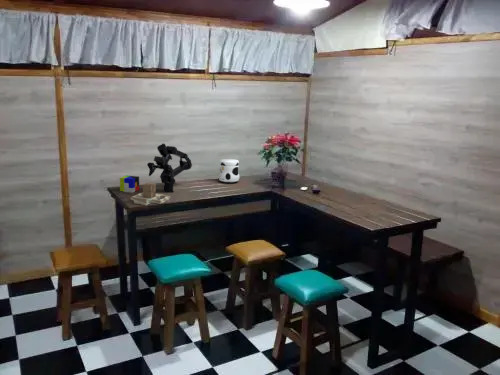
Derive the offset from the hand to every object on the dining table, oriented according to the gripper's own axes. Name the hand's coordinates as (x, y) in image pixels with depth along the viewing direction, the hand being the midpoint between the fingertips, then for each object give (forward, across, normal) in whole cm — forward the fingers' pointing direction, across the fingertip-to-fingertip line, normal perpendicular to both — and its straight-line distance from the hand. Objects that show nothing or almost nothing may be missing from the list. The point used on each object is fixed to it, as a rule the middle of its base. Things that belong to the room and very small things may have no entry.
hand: (154, 176), depth 301 cm
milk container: (-46, +22, +57) cm, 76 cm away
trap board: (+17, +3, +4) cm, 18 cm away
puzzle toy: (+6, -25, +13) cm, 29 cm away
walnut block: (+16, +3, +2) cm, 16 cm away
